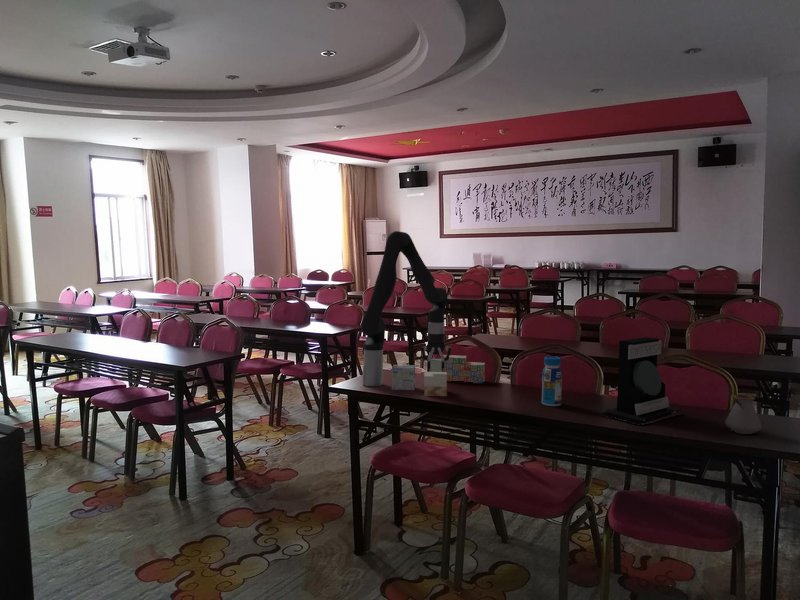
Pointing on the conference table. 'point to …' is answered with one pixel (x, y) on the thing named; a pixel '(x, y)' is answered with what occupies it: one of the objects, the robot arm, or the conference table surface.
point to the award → (640, 383)
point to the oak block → (435, 391)
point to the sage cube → (435, 365)
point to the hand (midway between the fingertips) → (435, 369)
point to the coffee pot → (743, 415)
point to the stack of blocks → (463, 369)
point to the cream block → (435, 379)
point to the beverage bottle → (552, 381)
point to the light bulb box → (403, 377)
